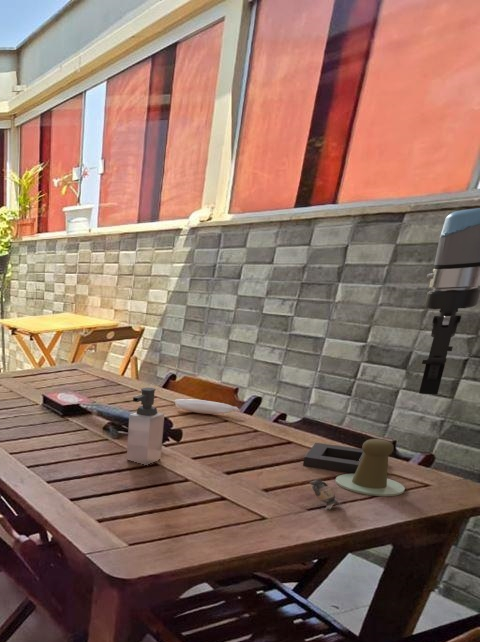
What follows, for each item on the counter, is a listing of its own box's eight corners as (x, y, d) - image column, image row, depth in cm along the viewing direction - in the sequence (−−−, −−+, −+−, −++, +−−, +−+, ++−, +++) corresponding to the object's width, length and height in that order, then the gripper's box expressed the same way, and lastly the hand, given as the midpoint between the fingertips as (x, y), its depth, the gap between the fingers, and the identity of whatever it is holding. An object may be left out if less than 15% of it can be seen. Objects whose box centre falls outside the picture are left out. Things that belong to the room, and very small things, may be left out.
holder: (378, 459, 130) (380, 451, 129) (370, 476, 122) (372, 467, 122) (313, 450, 140) (315, 442, 139) (302, 465, 132) (304, 456, 131)
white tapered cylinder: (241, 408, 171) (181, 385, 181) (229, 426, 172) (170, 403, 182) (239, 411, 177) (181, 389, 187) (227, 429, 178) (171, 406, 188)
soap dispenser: (121, 462, 148) (125, 391, 140) (140, 454, 151) (145, 385, 144) (141, 468, 142) (146, 394, 135) (160, 460, 146) (166, 388, 138)
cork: (349, 484, 119) (359, 442, 115) (353, 476, 122) (363, 434, 119) (384, 490, 114) (396, 446, 111) (388, 481, 118) (399, 439, 114)
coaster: (407, 482, 118) (407, 480, 117) (400, 500, 110) (401, 498, 110) (340, 472, 126) (340, 469, 126) (330, 488, 119) (331, 485, 119)
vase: (299, 502, 115) (303, 479, 113) (317, 497, 116) (322, 474, 114) (323, 511, 110) (329, 487, 108) (343, 507, 111) (348, 483, 109)
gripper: (431, 283, 113) (410, 373, 120) (424, 296, 98) (400, 398, 105) (481, 281, 108) (456, 375, 115) (482, 293, 93) (453, 401, 100)
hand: (429, 386), depth 110 cm, fingers open, 13 cm apart
